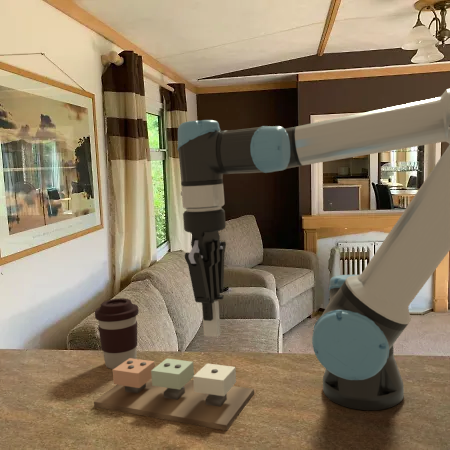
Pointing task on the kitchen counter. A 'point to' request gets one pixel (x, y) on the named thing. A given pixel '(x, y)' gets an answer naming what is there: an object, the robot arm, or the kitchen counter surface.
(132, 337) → the coffee cup
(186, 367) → the tile two
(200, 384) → the tile one
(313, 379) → the kitchen counter surface
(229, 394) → the key board
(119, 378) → the tile three
